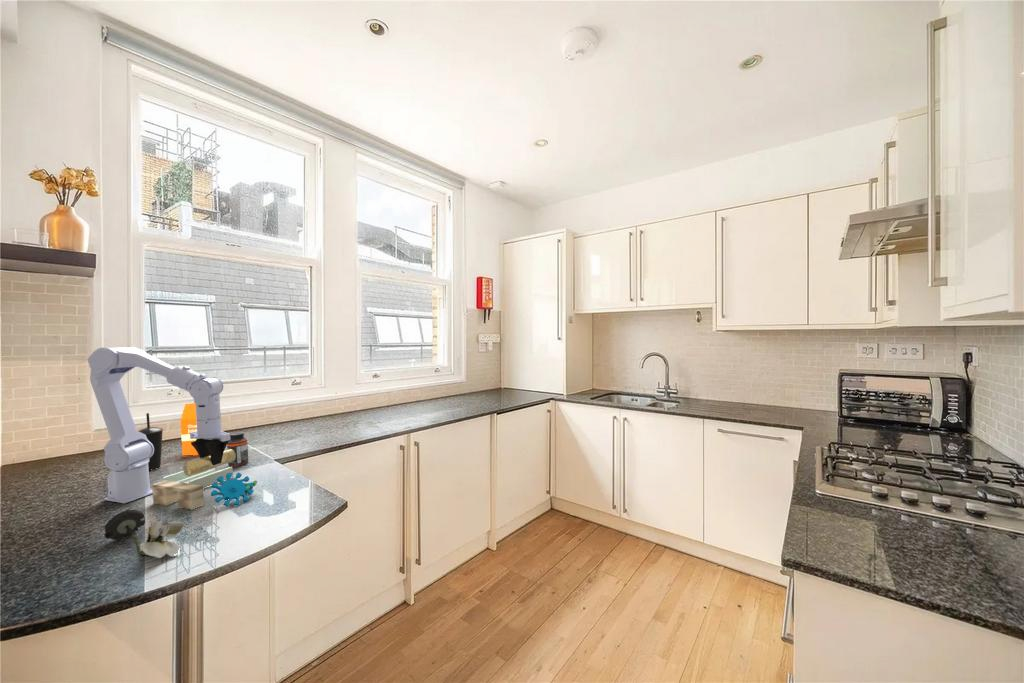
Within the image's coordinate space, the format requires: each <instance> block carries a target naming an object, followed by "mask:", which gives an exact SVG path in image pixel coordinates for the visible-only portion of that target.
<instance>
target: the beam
mask: <svg viewBox="0 0 1024 683" xmlns="http://www.w3.org/2000/svg"><path fill="white" fill-rule="evenodd" d="M151 487H152V488H151V489H152V491H153V494H152V500H153V501H152V502H153V503H155V504H154V505H159V504H160V505H161V506H169V505H171V504H174V502H175V503H177V506H178V507H177V508H178V509H182V508H185V509H184V510H188V509H191V510H190V511H193V510H192V509H194V508H196V507H198V506H201V505H203V504H204V505H205V496H204V495H205V493H204V489H203V486H202V485H195V484H188V483H181V482H174V481H166V480H164V481H163V480H162V481H158V482H156V483H155V482H154V483H152V484H151ZM153 503H152V504H153ZM204 505H203V506H204ZM201 507H202V506H201ZM196 509H197V508H196ZM194 510H195V509H194Z"/></svg>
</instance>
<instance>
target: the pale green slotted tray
mask: <svg viewBox="0 0 1024 683" xmlns="http://www.w3.org/2000/svg"><path fill="white" fill-rule="evenodd" d="M233 471H234V469H233V467H230V466H228V467H226V468H223V469H220V470H217V469H216V468H212V469H209V470H206V471H203V472H200V473H197V474H194V475H191V476H187V475H186V474H185V473H184V470H181V471H178V472H176V473H172V474H169V475H166V476H163V477H162V481H164V480H166V481H174V482H181V483H188V484H195V485H202V486H203V488H205V487H207V486H210V485H212V484H213V483H214V482H217V483H218V481H217V478H218V477H220V476H223V477H224V478H223V481H224V480H226V481H227V478H226V475H227V473H232V476H231V477H233V478H234V474H233V473H234V472H233ZM224 482H225V481H224ZM218 484H219V483H218ZM210 487H211V486H210ZM205 489H206V488H205Z"/></svg>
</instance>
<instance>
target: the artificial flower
mask: <svg viewBox="0 0 1024 683" xmlns="http://www.w3.org/2000/svg"><path fill="white" fill-rule="evenodd" d="M142 519H143V520H142ZM187 523H188V522H185V521H183V522H182V521H177V520H172V521H170V522H167V521H166V522H164V523H163V522H162V521H151V520H150V527H149V528H148V536H147V539H146V541H142V542H141V543H139V540H138V538H137V531H139V528H142V526H144V525H145V524H146V519H145V514H144V512H142V511H141V510H136V509H127V510H124V511H121V512H119V513H117V514H115V515H114V516H113V517H111V518H110V519H109V520H108V521H107V522H106V523H105V526H104V527H105V528H104V532H105V533H104V537H105V539H107V540H109V539H111V540H114V541H121V540H122V539H126V538H128V537H131V536H132V537H131V538H132V539H133V541H134V544H135V548H136V551H137V555H138V556H145V555H146V556H147V555H148V556H150V557H151V556H152V557H154V558H155V557H156V558H157V559H160V558H162V557H164V556H166V555H168V556H170V557H171V558H172V557H174V554H176V553H178V550H179V548H180V547H181V548H182V546H181V545H178V544H177V543H176V542H175V541H169V540H164V538H167V537H168V538H171V537H176V536H177V535H178V534H180V533H181V531H182V530H183V528H184V527H185V526H186V525H187ZM161 524H162V525H161Z"/></svg>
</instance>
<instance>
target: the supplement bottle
mask: <svg viewBox="0 0 1024 683" xmlns="http://www.w3.org/2000/svg"><path fill="white" fill-rule="evenodd" d="M244 436H245V434H244V432H243V431H237V432H233V433H230V440H229V442H228V444H227V445H226V447H227V449H226V450H229V449H232V450H233V451H234V452H235V455H236V458H235V460H234V461H233V462H230V463H227V464H228V467H230V466H231V467H232V468H233V467H234V466H236V467H241V466H244V465H247V464H248V463H249V446H248V444H249V443H248V438H246V437H244ZM246 463H247V464H246ZM234 468H235V467H234Z"/></svg>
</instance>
